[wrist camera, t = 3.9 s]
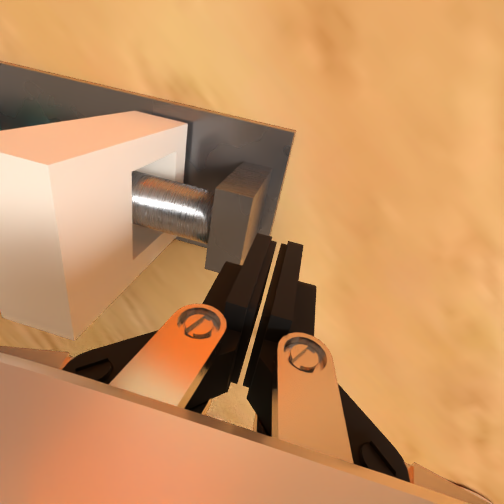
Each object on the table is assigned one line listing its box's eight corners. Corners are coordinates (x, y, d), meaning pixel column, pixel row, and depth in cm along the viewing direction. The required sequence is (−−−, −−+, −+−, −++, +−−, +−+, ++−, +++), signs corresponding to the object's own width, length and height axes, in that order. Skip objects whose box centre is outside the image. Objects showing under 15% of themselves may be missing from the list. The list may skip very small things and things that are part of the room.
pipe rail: (296, 130, 16) (280, 153, 11) (264, 257, 20) (243, 317, 15) (-124, 31, 19) (-296, 12, 14) (-77, 162, 23) (-197, 186, 18)
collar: (187, 123, 16) (48, 165, 8) (179, 234, 20) (74, 340, 12) (134, 110, 16) (-53, 138, 8) (135, 221, 20) (2, 317, 12)
